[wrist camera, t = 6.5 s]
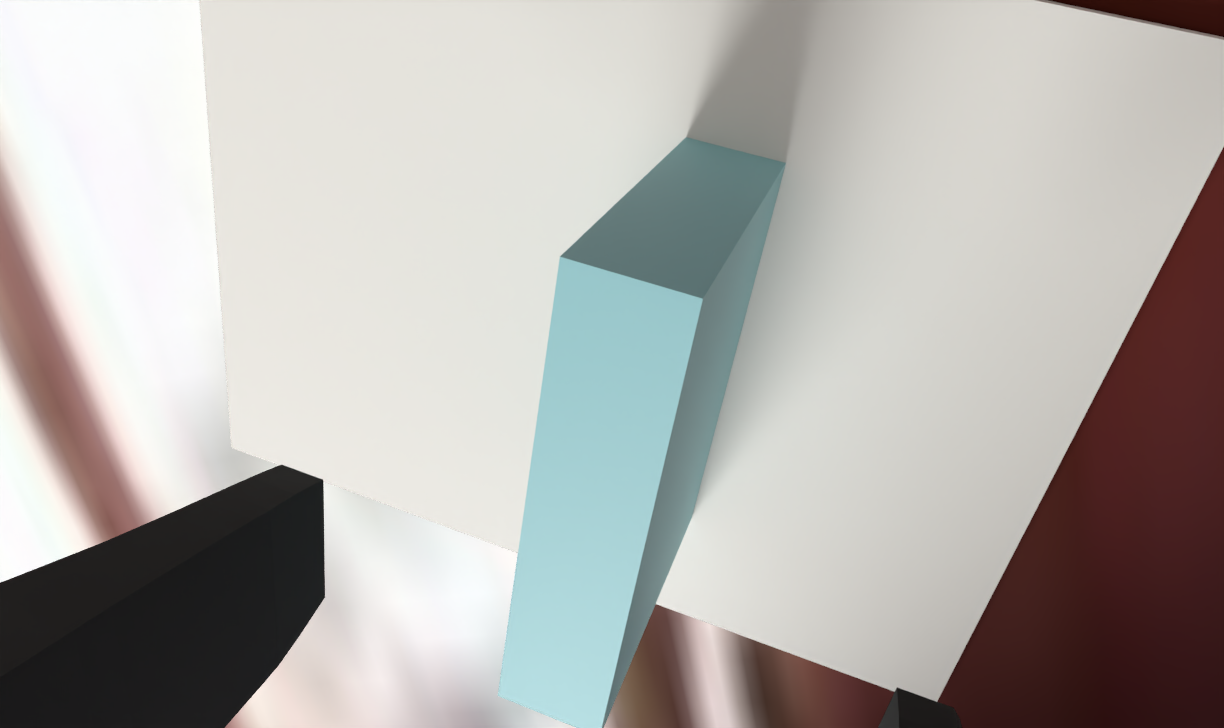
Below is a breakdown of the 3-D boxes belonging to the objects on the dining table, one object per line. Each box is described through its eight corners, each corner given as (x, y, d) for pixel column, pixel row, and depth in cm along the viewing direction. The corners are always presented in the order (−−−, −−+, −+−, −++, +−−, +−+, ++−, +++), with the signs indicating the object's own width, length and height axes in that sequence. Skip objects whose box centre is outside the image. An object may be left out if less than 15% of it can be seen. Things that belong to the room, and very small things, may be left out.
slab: (691, 518, 20) (599, 736, 15) (613, 491, 20) (497, 695, 15) (786, 163, 16) (702, 298, 11) (685, 137, 16) (559, 257, 11)
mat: (935, 692, 20) (934, 706, 20) (241, 439, 24) (231, 447, 23) (1265, 45, 13) (1272, 50, 13) (202, -176, 17) (187, -177, 16)
